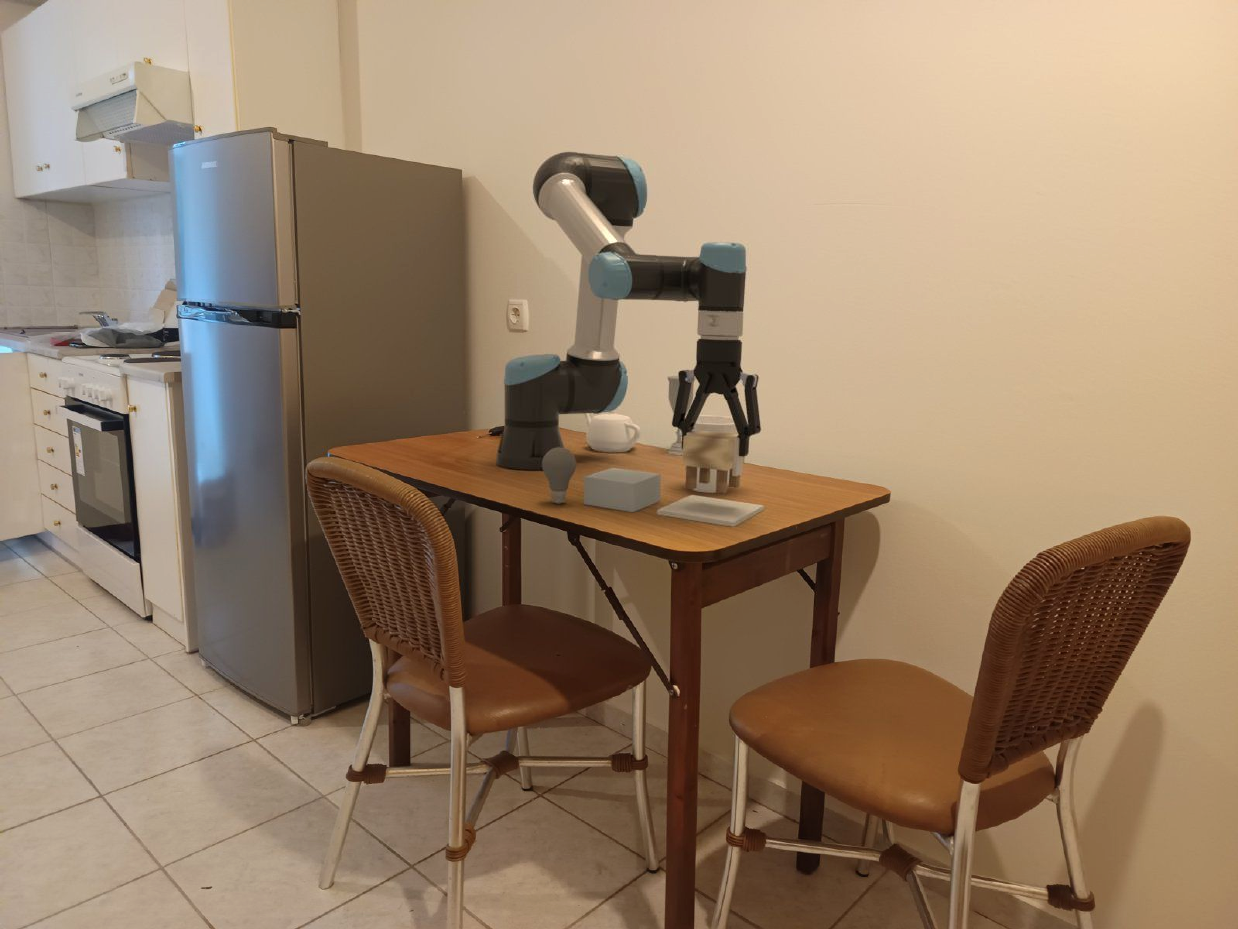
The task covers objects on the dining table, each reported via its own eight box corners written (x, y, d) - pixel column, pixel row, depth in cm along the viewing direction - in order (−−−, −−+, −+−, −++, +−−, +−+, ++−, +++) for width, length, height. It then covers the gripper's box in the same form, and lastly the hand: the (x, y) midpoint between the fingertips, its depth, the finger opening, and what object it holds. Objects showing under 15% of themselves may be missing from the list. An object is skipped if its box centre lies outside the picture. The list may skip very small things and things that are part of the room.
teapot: (563, 445, 214) (564, 404, 212) (601, 440, 222) (602, 401, 220) (619, 458, 200) (620, 414, 198) (657, 452, 208) (658, 410, 206)
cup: (751, 494, 165) (755, 423, 163) (690, 497, 162) (693, 424, 159) (725, 481, 177) (728, 414, 174) (668, 483, 174) (670, 415, 171)
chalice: (690, 456, 203) (694, 379, 200) (662, 454, 205) (664, 378, 201) (694, 451, 210) (697, 376, 207) (666, 449, 212) (669, 375, 208)
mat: (656, 514, 149) (656, 509, 148) (691, 499, 160) (691, 494, 160) (733, 526, 142) (733, 522, 142) (763, 509, 154) (764, 505, 154)
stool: (681, 488, 149) (683, 436, 147) (701, 480, 155) (703, 430, 154) (725, 494, 145) (727, 440, 143) (743, 486, 152) (745, 434, 150)
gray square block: (583, 504, 154) (584, 476, 153) (612, 493, 163) (612, 467, 162) (633, 512, 150) (634, 483, 149) (659, 501, 158) (660, 474, 157)
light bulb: (548, 508, 151) (548, 451, 149) (537, 500, 156) (537, 445, 154) (580, 505, 153) (581, 449, 151) (568, 498, 158) (569, 444, 157)
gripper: (653, 335, 147) (649, 468, 151) (771, 341, 137) (763, 483, 141) (673, 334, 154) (668, 461, 158) (787, 340, 144) (779, 475, 148)
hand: (713, 471), depth 150 cm, fingers closed on stool, 8 cm apart
